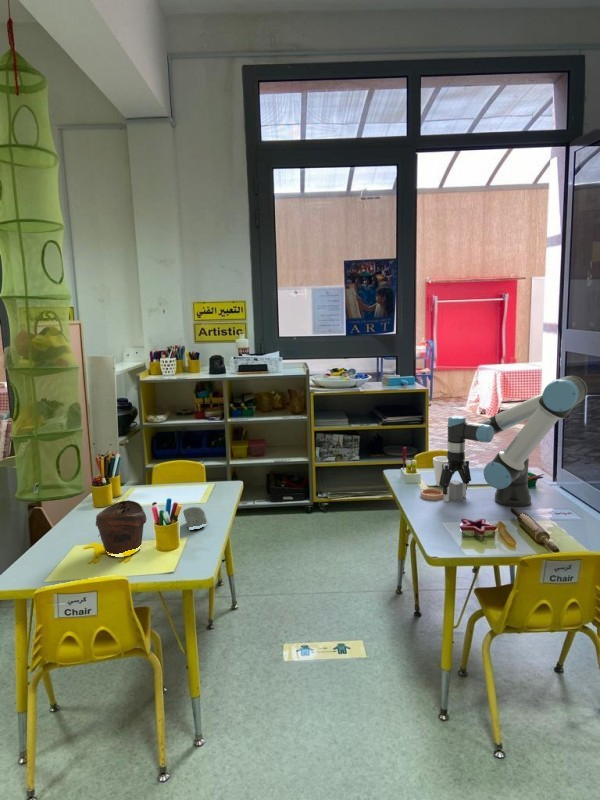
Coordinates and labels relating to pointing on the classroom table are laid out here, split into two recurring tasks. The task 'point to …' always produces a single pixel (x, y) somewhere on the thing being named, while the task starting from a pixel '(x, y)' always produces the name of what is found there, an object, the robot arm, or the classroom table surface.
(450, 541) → the classroom table surface
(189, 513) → the decorative stone
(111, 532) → the chocolate muffin
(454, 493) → the stone block
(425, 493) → the terracotta dish
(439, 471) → the foam cup
